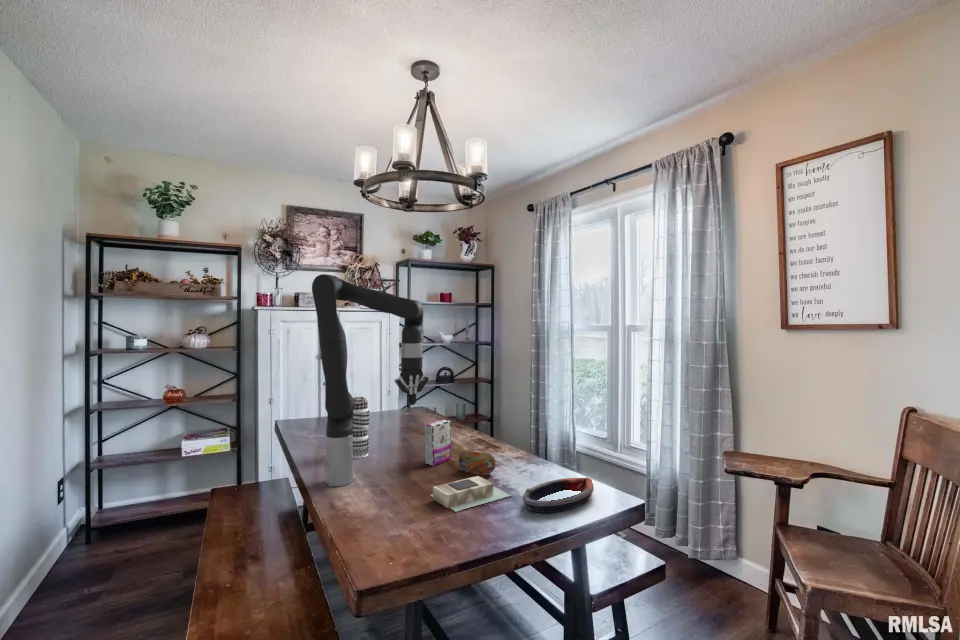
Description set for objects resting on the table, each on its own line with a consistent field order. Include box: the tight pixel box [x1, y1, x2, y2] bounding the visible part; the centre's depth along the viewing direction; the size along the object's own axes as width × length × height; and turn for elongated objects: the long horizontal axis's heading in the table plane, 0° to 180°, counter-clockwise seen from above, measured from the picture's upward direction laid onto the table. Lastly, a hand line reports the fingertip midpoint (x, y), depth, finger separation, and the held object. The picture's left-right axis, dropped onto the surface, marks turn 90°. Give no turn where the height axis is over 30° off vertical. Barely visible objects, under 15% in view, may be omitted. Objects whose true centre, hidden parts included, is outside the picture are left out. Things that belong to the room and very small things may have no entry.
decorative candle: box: [353, 396, 371, 459], centre depth 199 cm, size 9×9×25 cm
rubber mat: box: [430, 485, 512, 513], centre depth 154 cm, size 22×16×1 cm
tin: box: [458, 449, 496, 476], centre depth 177 cm, size 15×3×8 cm, turn 62°
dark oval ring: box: [522, 477, 595, 513], centre depth 150 cm, size 16×31×5 cm, turn 126°
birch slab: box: [432, 475, 494, 509], centre depth 152 cm, size 4×9×18 cm
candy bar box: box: [424, 419, 452, 467], centre depth 190 cm, size 11×5×16 cm, turn 143°
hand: (411, 404), depth 163 cm, fingers closed
